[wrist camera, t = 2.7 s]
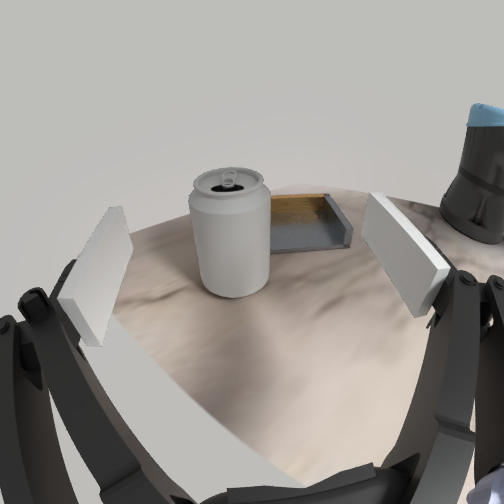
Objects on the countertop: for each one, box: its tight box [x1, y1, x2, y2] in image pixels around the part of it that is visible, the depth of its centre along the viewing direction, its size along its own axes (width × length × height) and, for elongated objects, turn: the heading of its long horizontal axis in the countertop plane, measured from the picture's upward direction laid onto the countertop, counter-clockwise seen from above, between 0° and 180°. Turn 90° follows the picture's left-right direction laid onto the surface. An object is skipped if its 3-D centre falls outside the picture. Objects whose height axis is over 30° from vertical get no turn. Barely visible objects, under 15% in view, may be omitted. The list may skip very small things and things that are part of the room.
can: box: [188, 167, 271, 298], centre depth 28 cm, size 8×8×12 cm
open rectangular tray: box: [270, 194, 353, 254], centre depth 38 cm, size 12×10×3 cm
